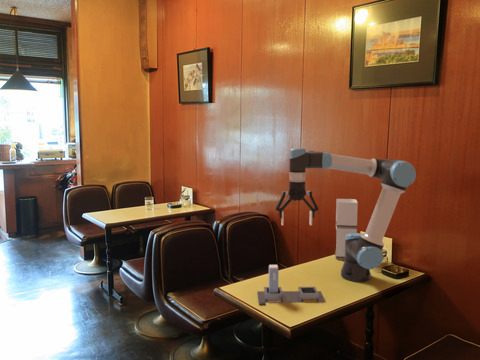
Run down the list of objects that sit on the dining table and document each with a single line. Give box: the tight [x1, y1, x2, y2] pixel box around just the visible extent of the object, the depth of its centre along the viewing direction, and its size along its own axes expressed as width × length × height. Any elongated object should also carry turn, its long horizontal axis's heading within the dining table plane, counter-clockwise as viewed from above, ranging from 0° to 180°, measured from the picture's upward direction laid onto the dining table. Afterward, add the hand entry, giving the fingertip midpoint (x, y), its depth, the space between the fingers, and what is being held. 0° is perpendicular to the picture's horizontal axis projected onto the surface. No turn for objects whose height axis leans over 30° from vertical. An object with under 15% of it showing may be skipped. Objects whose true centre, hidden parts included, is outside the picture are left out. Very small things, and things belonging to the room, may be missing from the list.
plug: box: [268, 264, 279, 293], centre depth 175 cm, size 4×6×15 cm
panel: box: [257, 286, 327, 306], centre depth 177 cm, size 30×12×4 cm, turn 90°
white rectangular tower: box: [334, 198, 359, 261], centre depth 233 cm, size 11×11×35 cm
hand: (296, 224), depth 185 cm, fingers open, 13 cm apart
